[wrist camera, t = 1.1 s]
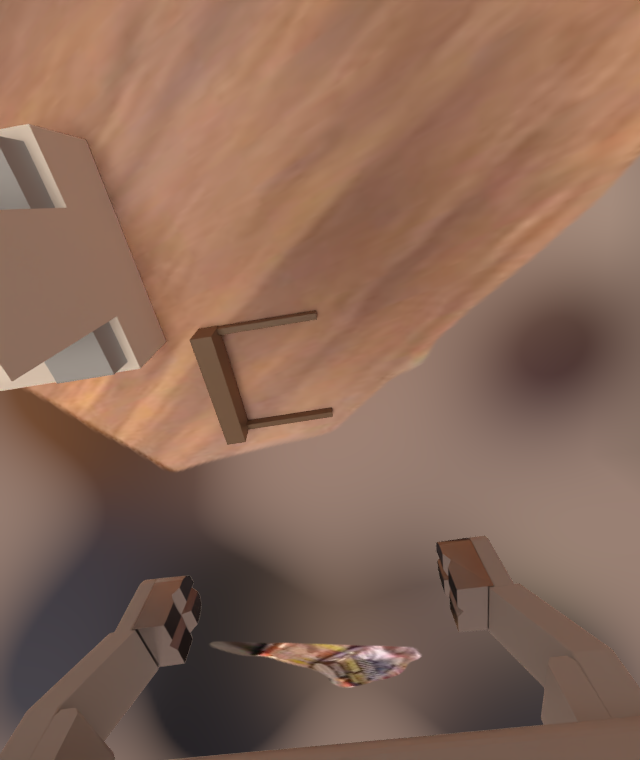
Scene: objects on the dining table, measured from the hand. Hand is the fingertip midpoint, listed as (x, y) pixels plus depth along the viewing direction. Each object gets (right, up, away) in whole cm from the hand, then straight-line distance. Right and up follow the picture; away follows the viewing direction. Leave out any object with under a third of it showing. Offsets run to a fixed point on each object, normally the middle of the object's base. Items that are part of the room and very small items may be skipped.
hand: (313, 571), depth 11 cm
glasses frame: (-7, +7, +36) cm, 37 cm away
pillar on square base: (-32, +19, +28) cm, 47 cm away
